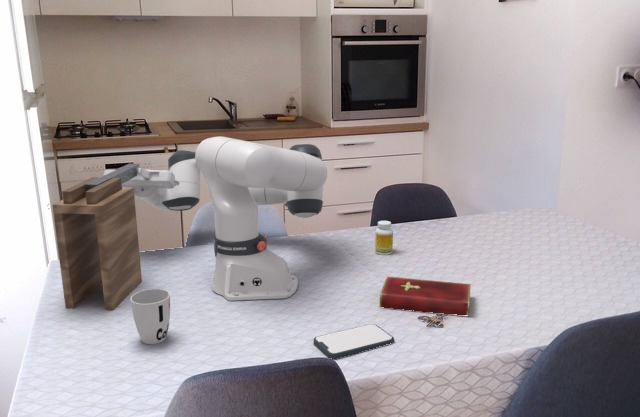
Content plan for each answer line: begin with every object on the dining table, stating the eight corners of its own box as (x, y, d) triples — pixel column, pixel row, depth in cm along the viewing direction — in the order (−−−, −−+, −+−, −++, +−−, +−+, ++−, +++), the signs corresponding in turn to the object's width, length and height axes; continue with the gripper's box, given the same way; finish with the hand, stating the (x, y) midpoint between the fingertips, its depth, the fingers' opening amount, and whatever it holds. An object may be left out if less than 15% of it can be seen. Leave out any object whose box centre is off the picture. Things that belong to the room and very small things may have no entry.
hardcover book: (468, 319, 139) (469, 302, 138) (379, 309, 144) (379, 293, 143) (469, 298, 150) (470, 283, 149) (386, 290, 155) (387, 275, 154)
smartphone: (373, 328, 135) (311, 343, 127) (374, 322, 134) (311, 337, 127) (396, 345, 127) (331, 362, 120) (396, 338, 127) (331, 355, 119)
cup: (162, 349, 124) (159, 305, 122) (127, 345, 126) (123, 302, 123) (179, 331, 132) (176, 290, 129) (145, 328, 134) (141, 287, 131)
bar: (140, 174, 169) (139, 163, 168) (98, 196, 144) (97, 184, 143) (130, 173, 169) (129, 163, 168) (86, 196, 144) (85, 184, 143)
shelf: (141, 281, 160) (132, 176, 152) (113, 310, 143) (100, 193, 135) (99, 279, 161) (87, 175, 154) (65, 308, 144) (50, 192, 136)
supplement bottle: (372, 250, 184) (373, 220, 181) (389, 248, 185) (389, 219, 182) (377, 256, 179) (378, 225, 176) (394, 254, 180) (395, 224, 177)
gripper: (180, 195, 177) (164, 181, 164) (114, 194, 179) (93, 180, 165) (182, 175, 178) (167, 160, 165) (116, 174, 180) (96, 159, 167)
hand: (129, 170), depth 165 cm, fingers open, 3 cm apart
